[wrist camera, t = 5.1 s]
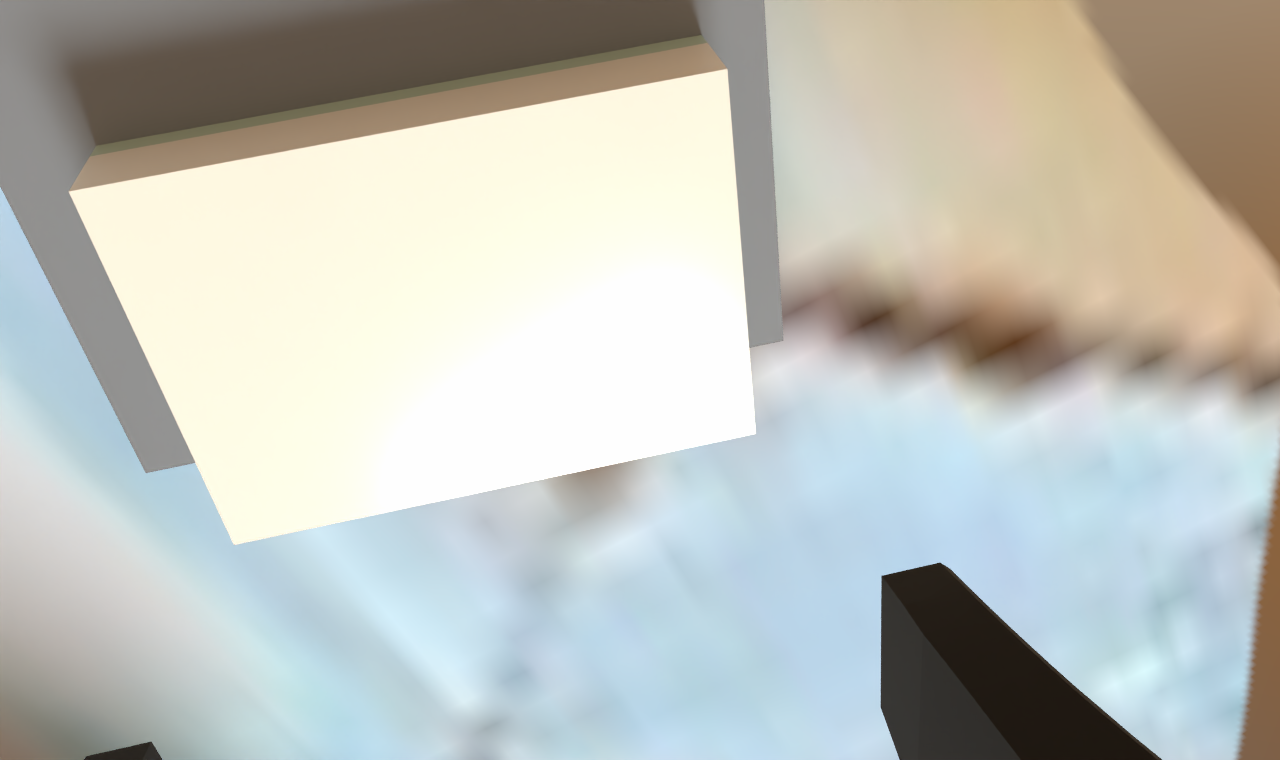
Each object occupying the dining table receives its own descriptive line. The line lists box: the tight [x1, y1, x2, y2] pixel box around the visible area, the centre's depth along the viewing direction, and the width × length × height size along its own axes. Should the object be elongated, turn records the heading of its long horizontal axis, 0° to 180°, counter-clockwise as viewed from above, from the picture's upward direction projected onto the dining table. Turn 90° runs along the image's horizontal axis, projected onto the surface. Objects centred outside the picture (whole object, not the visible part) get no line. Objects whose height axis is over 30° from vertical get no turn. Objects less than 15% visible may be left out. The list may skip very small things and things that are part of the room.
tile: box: [69, 35, 756, 545], centre depth 17 cm, size 9×2×6 cm
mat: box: [0, 0, 783, 473], centre depth 17 cm, size 12×10×1 cm
